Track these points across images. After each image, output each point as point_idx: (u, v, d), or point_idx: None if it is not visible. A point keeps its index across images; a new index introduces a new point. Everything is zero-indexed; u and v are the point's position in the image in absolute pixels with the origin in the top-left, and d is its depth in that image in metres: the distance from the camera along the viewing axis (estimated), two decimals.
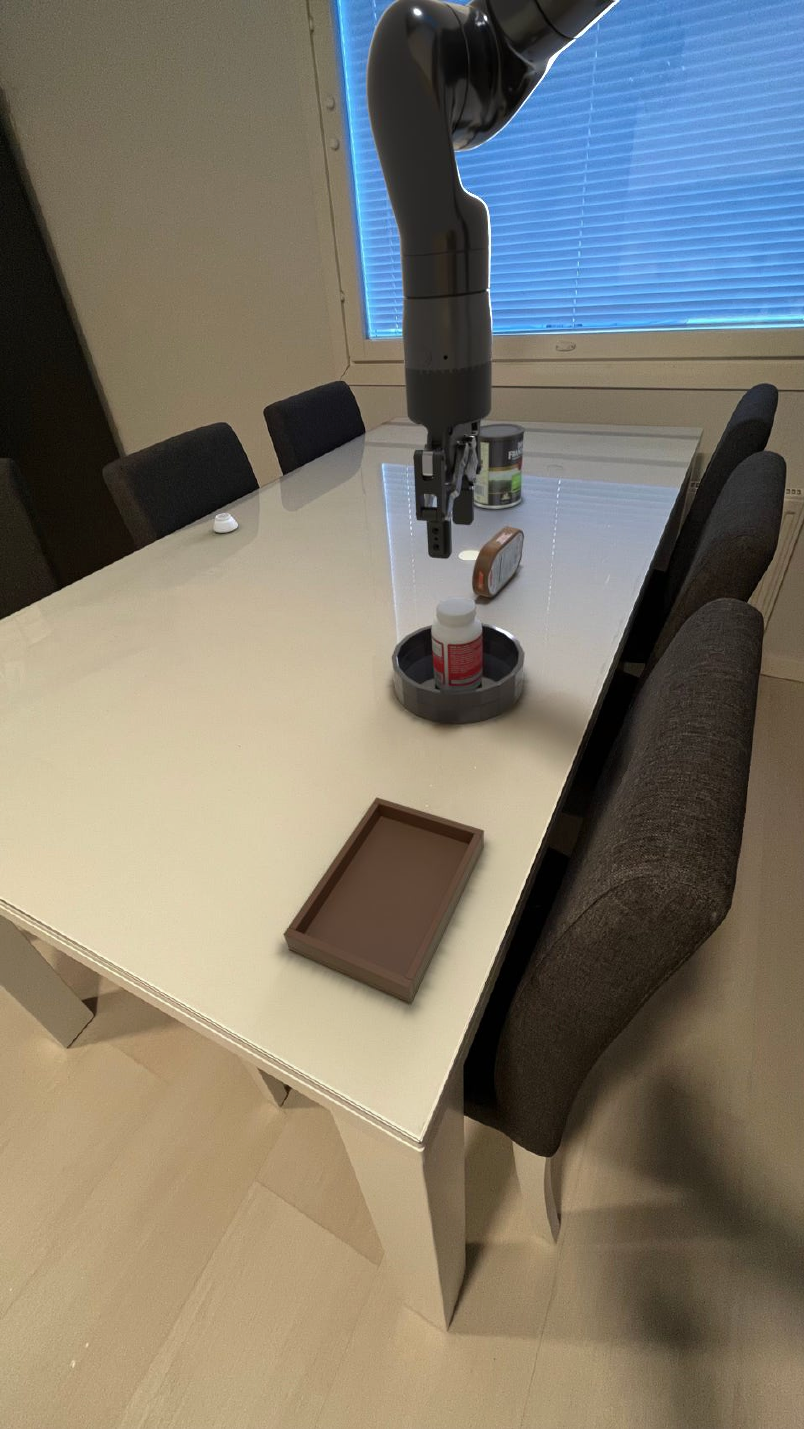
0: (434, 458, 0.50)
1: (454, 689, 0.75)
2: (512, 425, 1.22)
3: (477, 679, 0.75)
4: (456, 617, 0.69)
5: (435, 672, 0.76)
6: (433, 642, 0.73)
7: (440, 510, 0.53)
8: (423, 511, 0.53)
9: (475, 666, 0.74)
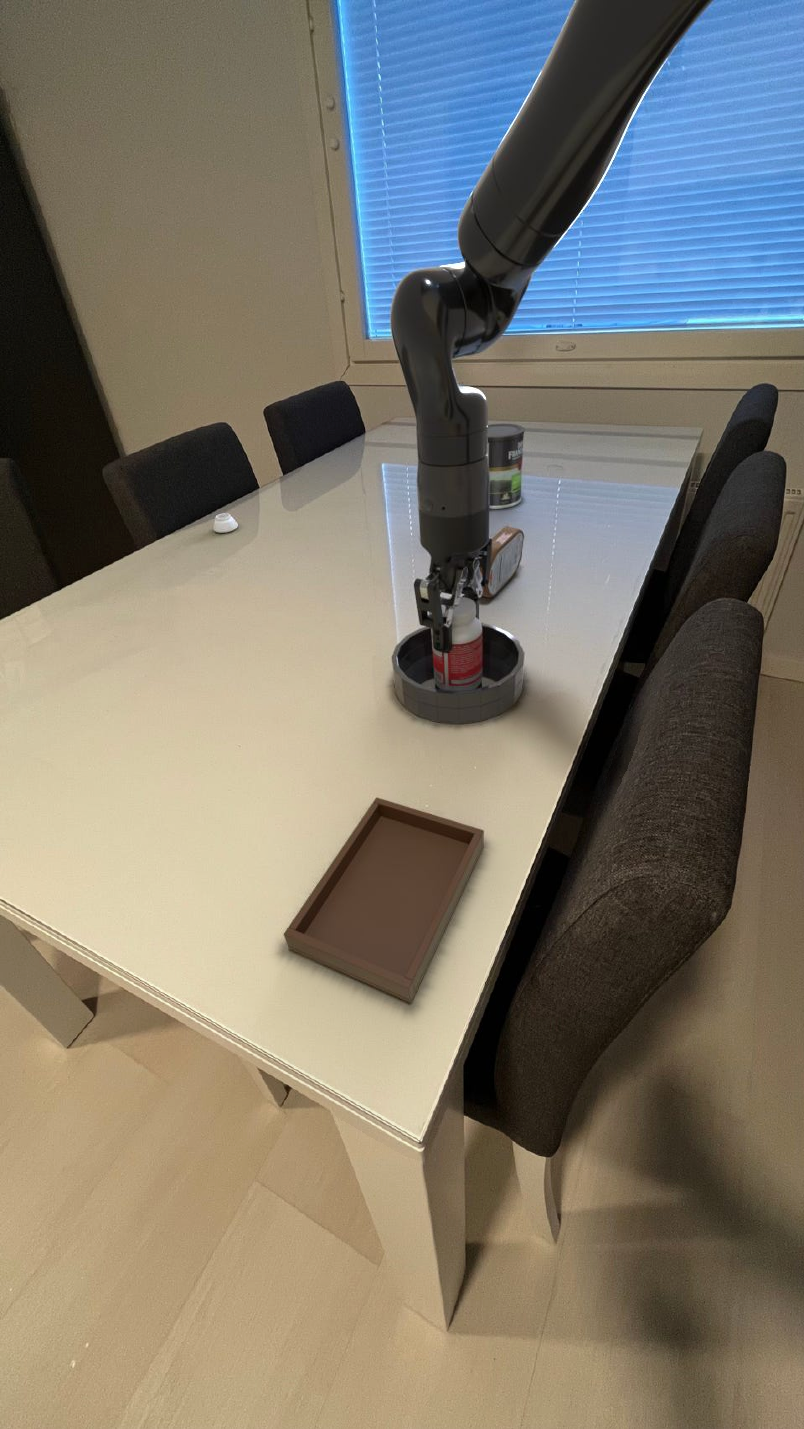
0: (428, 589, 0.63)
1: (454, 689, 0.75)
2: (512, 425, 1.22)
3: (477, 679, 0.75)
4: (456, 617, 0.69)
5: (435, 672, 0.76)
6: None
7: (436, 622, 0.66)
8: (424, 620, 0.67)
9: (475, 666, 0.74)
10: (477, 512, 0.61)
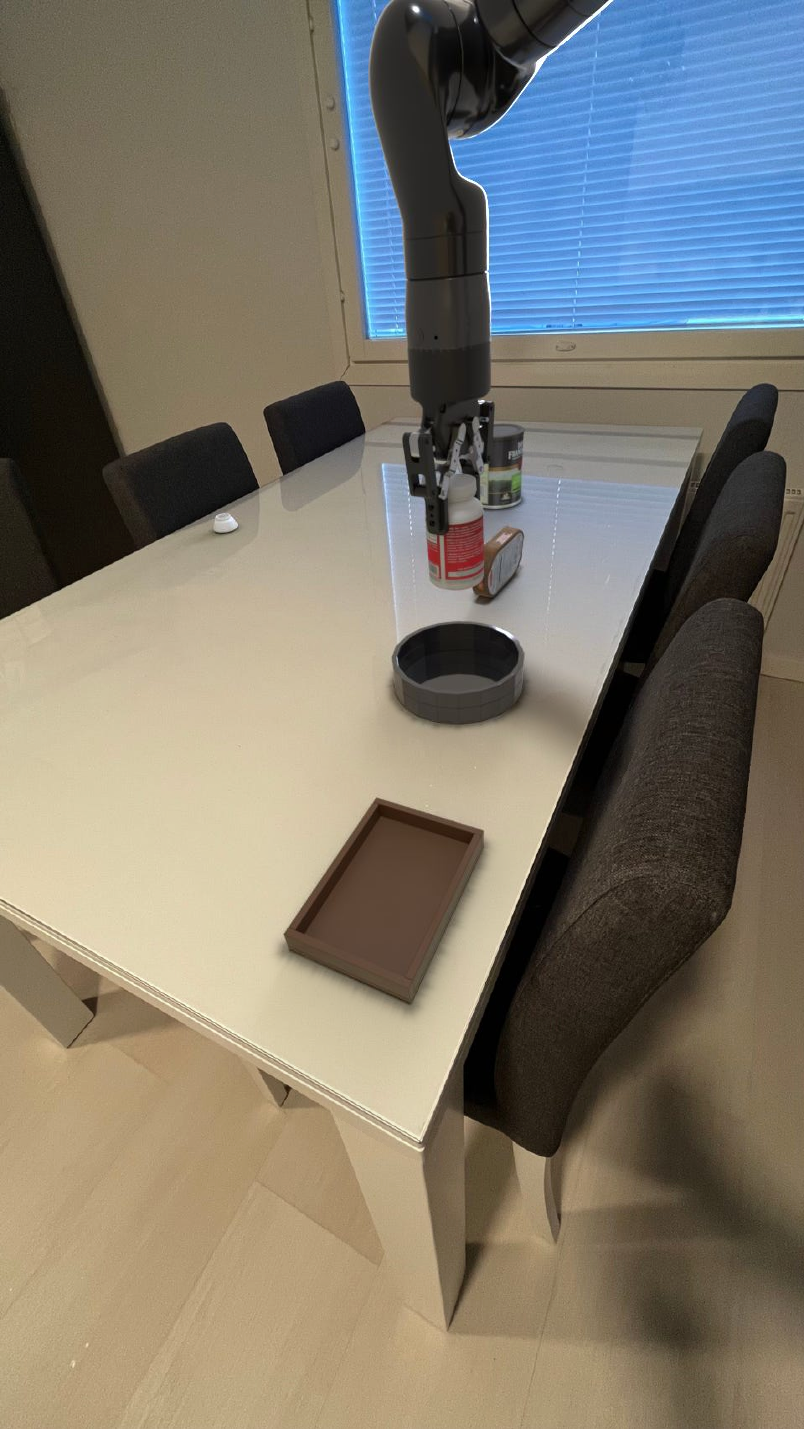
0: (419, 442, 0.53)
1: (452, 584, 0.65)
2: (512, 425, 1.22)
3: (478, 573, 0.65)
4: (453, 490, 0.60)
5: (430, 566, 0.66)
6: None
7: (429, 487, 0.56)
8: (416, 487, 0.57)
9: (476, 555, 0.64)
10: (476, 344, 0.51)
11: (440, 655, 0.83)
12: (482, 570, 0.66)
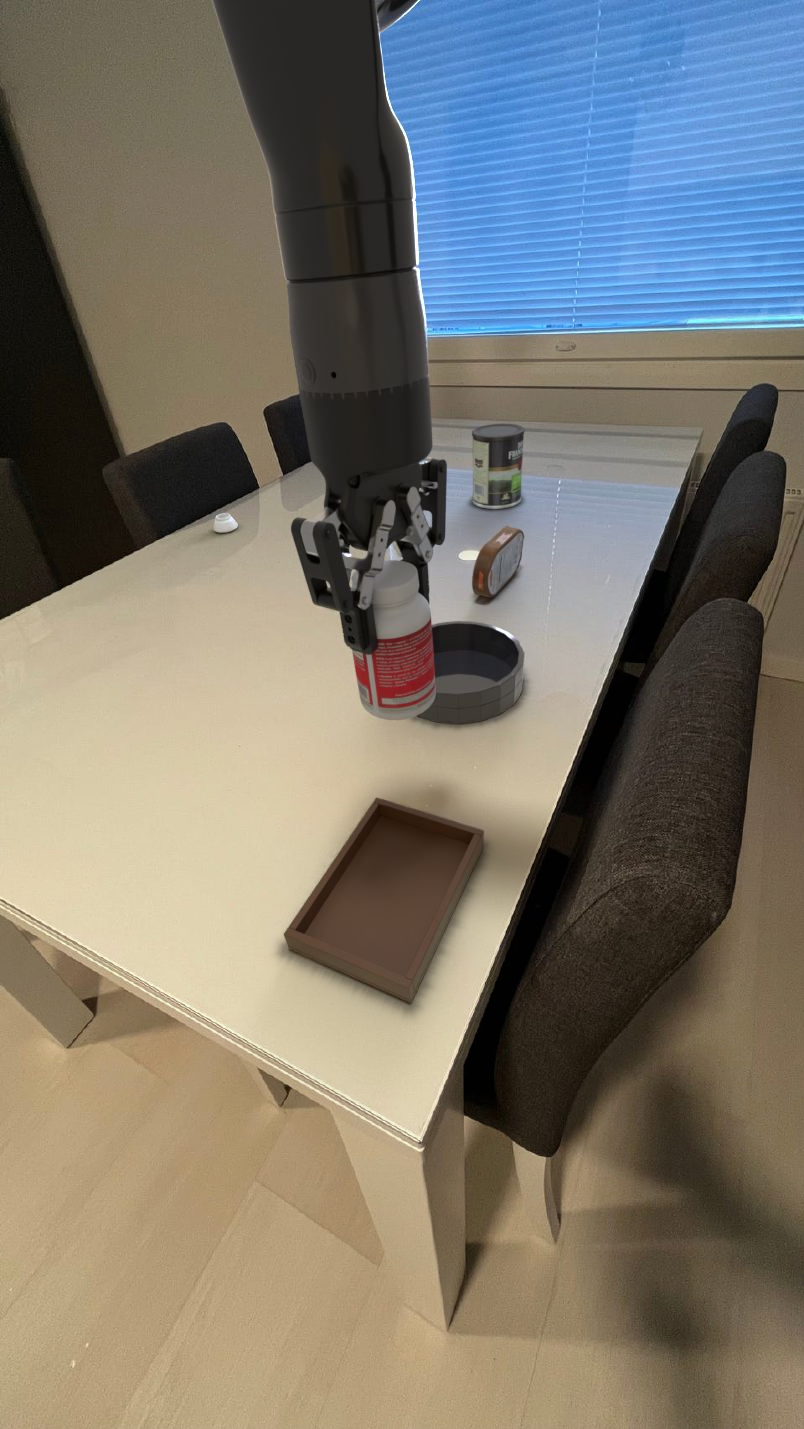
0: (315, 536, 0.34)
1: (387, 713, 0.46)
2: (512, 425, 1.22)
3: (425, 697, 0.46)
4: (382, 593, 0.40)
5: (358, 685, 0.47)
6: None
7: (338, 598, 0.37)
8: (320, 595, 0.38)
9: (420, 676, 0.45)
10: (401, 385, 0.32)
11: (440, 655, 0.83)
12: (432, 691, 0.47)
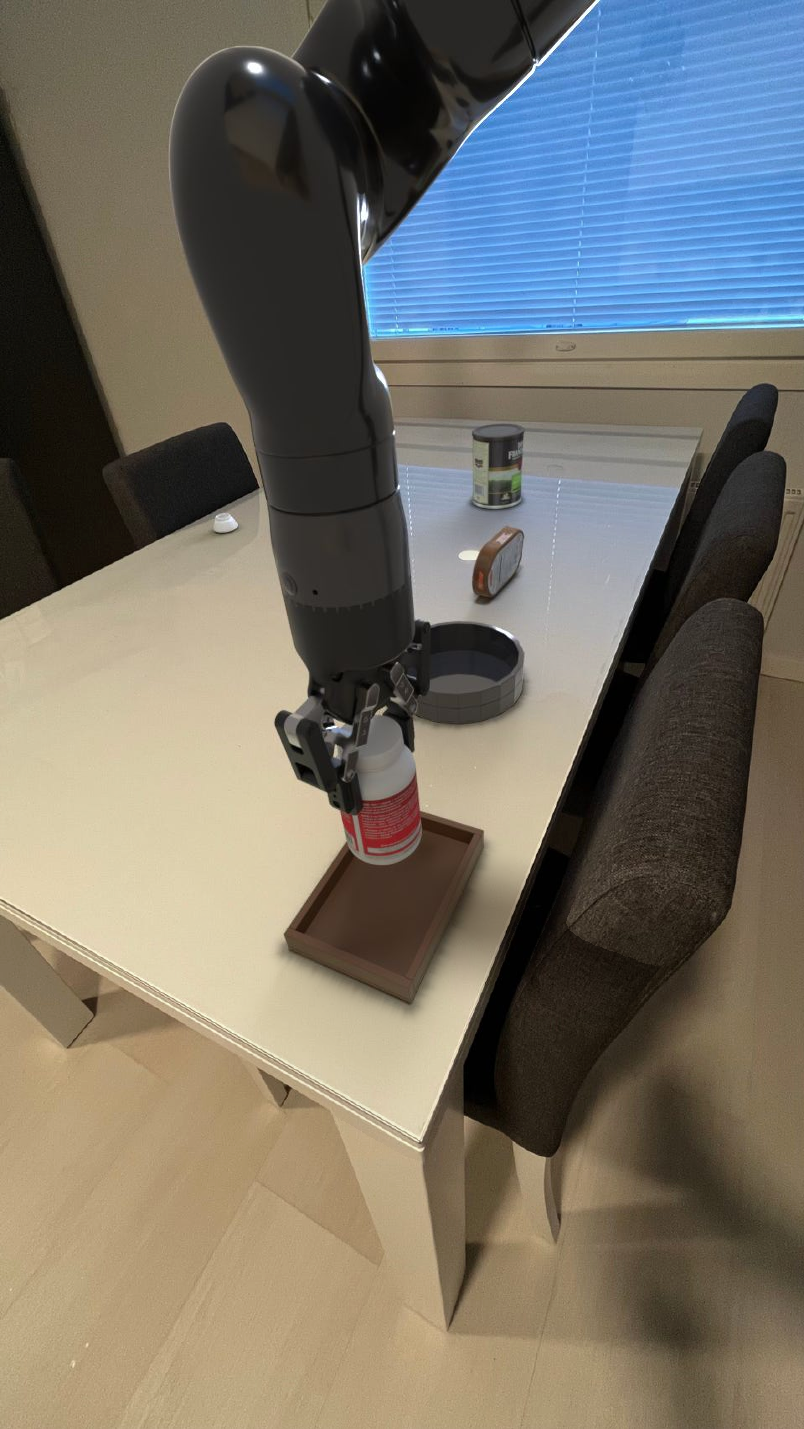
0: (298, 734, 0.34)
1: (373, 859, 0.46)
2: (512, 425, 1.22)
3: (411, 842, 0.46)
4: (366, 760, 0.41)
5: (344, 829, 0.47)
6: None
7: (322, 782, 0.37)
8: (304, 774, 0.38)
9: (406, 827, 0.45)
10: (382, 597, 0.32)
11: (440, 655, 0.83)
12: (418, 835, 0.47)
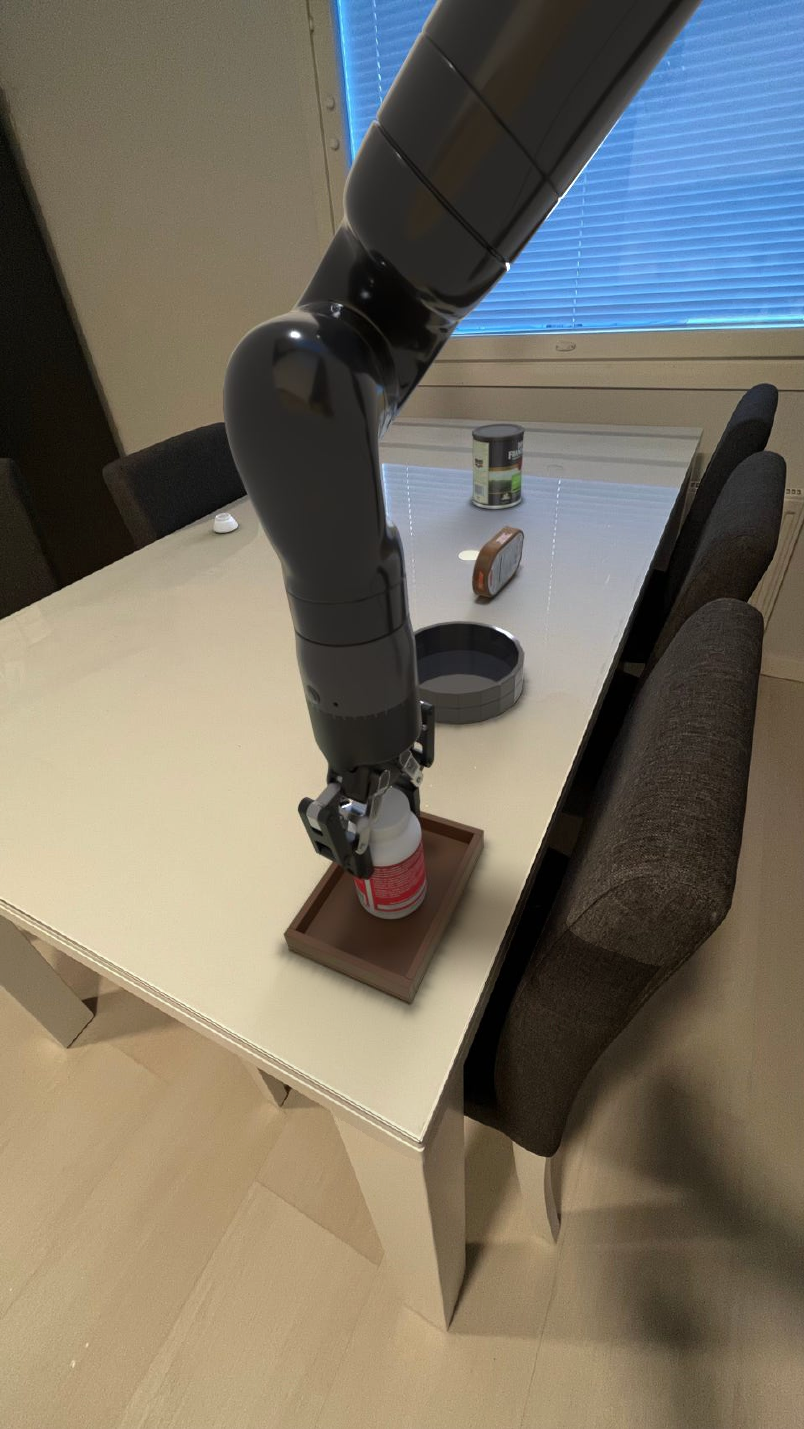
0: (319, 821, 0.39)
1: (383, 914, 0.51)
2: (512, 425, 1.22)
3: (417, 899, 0.51)
4: (377, 832, 0.45)
5: (356, 886, 0.52)
6: None
7: None
8: (323, 849, 0.43)
9: (412, 886, 0.49)
10: (394, 706, 0.37)
11: (440, 655, 0.83)
12: (423, 891, 0.52)
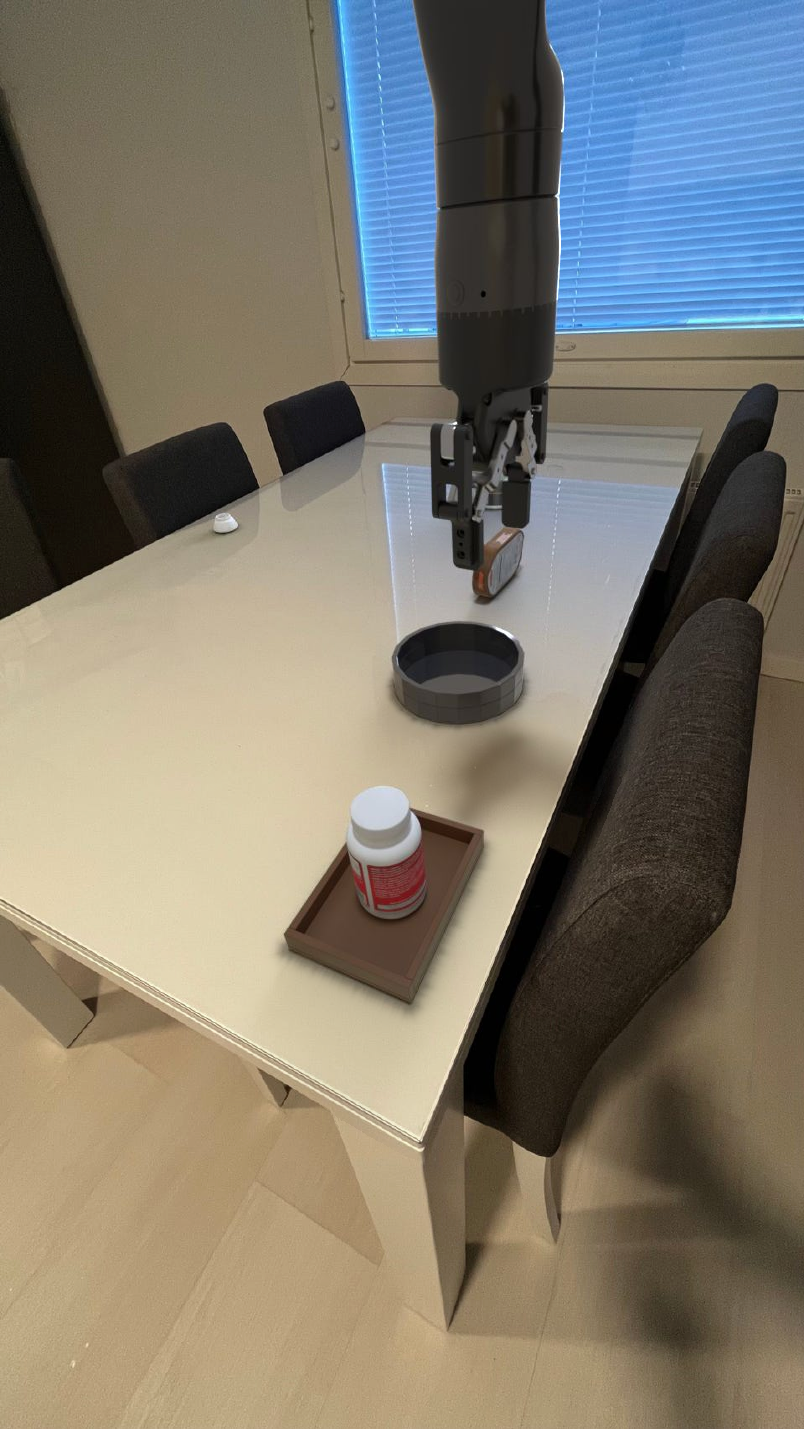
0: (456, 435, 0.37)
1: (383, 914, 0.51)
2: None
3: (417, 899, 0.51)
4: (378, 832, 0.45)
5: (356, 886, 0.52)
6: (349, 853, 0.49)
7: (462, 507, 0.39)
8: (441, 506, 0.40)
9: (412, 886, 0.49)
10: (540, 305, 0.35)
11: (440, 655, 0.83)
12: (423, 891, 0.52)
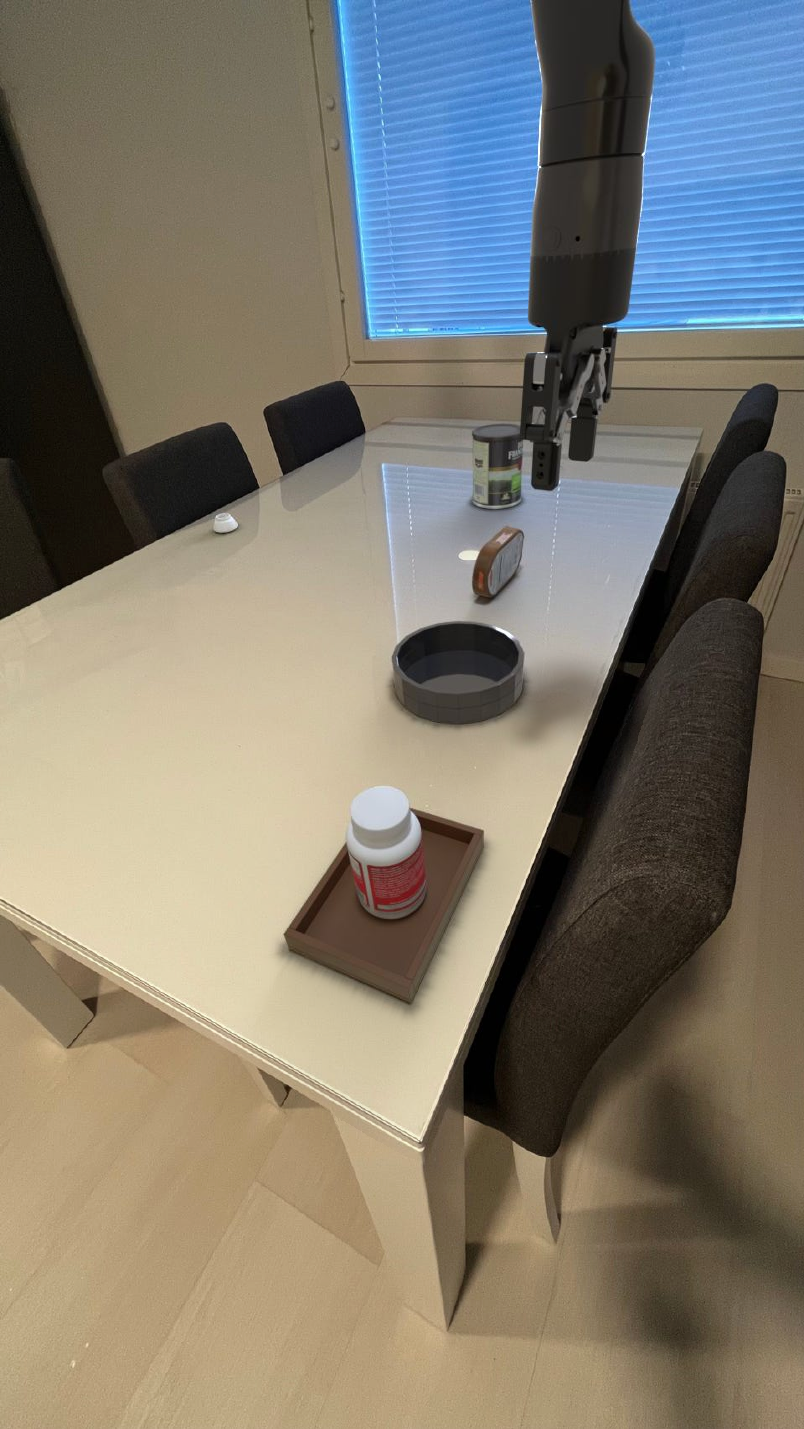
0: (548, 362, 0.43)
1: (383, 914, 0.51)
2: (512, 425, 1.22)
3: (417, 899, 0.51)
4: (378, 832, 0.45)
5: (356, 886, 0.52)
6: (349, 853, 0.49)
7: (548, 427, 0.46)
8: (528, 428, 0.47)
9: (412, 886, 0.49)
10: (624, 249, 0.42)
11: (440, 655, 0.83)
12: (423, 891, 0.52)
